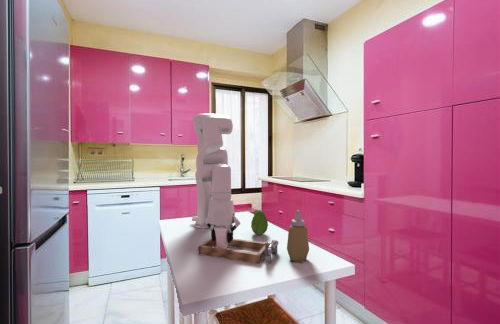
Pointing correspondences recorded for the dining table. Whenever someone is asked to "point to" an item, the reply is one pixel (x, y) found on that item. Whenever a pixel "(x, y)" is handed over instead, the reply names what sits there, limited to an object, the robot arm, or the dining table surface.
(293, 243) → the squeeze bottle
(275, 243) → the grey metal handle
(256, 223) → the avocado
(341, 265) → the dining table surface
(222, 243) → the smoothie
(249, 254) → the bay
